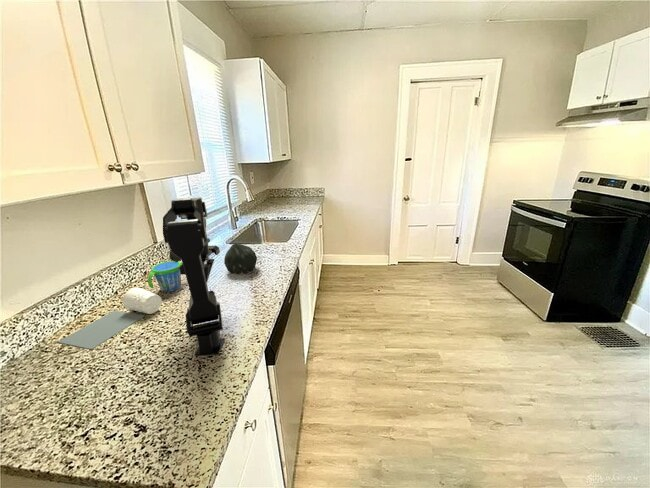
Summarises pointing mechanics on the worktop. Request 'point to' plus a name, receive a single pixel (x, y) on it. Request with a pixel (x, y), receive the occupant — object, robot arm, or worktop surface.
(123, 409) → the worktop surface
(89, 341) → the mat
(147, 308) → the white cup
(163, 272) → the snack cup
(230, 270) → the squash
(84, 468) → the worktop surface
